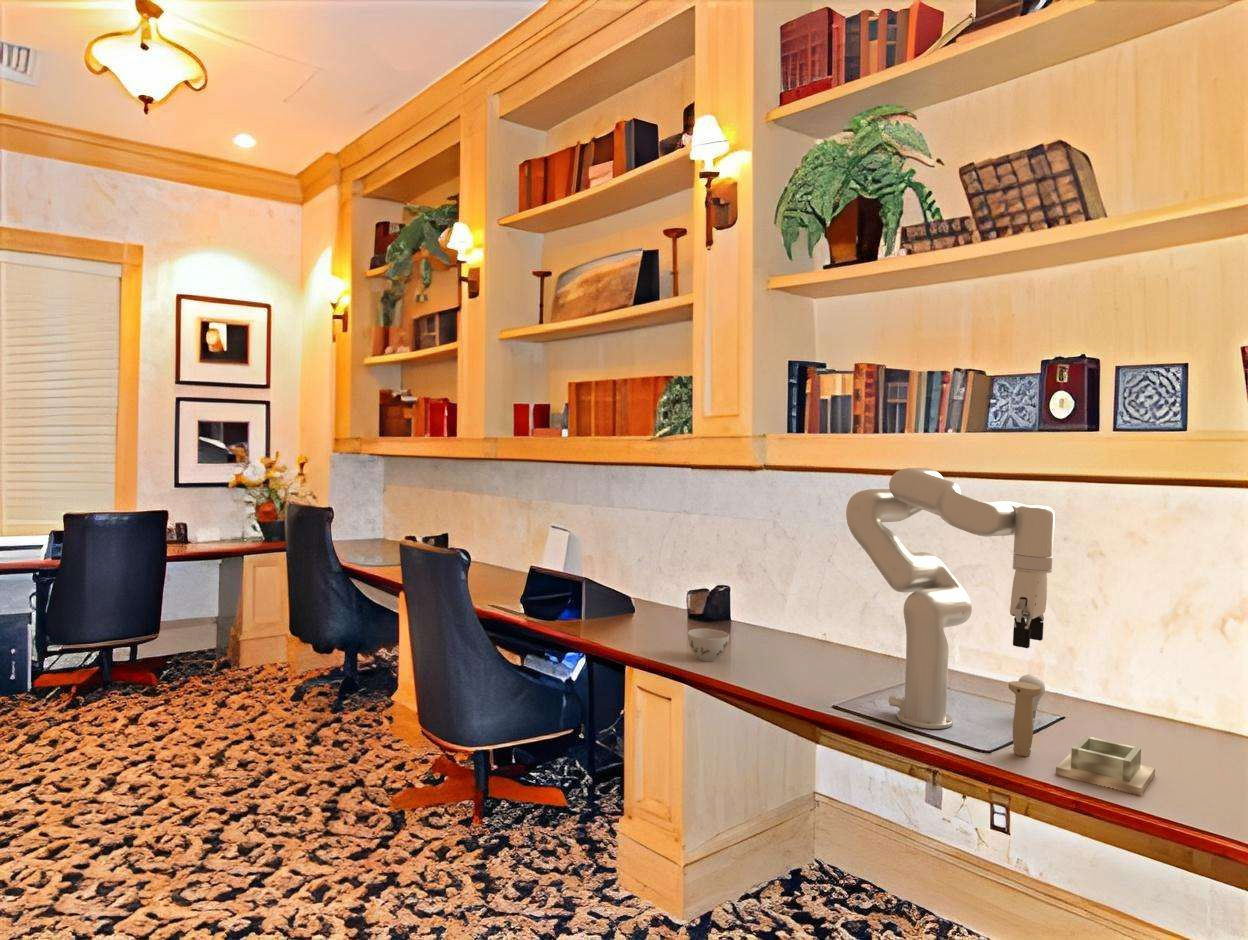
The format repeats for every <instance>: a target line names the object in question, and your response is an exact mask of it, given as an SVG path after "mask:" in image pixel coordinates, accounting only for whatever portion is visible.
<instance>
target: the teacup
mask: <svg viewBox="0 0 1248 940" xmlns="http://www.w3.org/2000/svg"><path fill="white" fill-rule="evenodd" d="M687 638H688V644H689V646H690V647H689V648H690V650H691V651H692V653H693V654H694V656H695V657H696V658H697V659H698V660H700V661H703V662H715V661H717V660H718V659H719V658H720V657H721V656H723V654H725V651H726V649H727V647H728V645H729V642H730V634H729V633H727V632H726V631H724V630H717V629H712V628H694V629H690V630H688V632H687Z"/></svg>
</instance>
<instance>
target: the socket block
mask: <svg viewBox="0 0 1248 940" xmlns="http://www.w3.org/2000/svg"><path fill="white" fill-rule="evenodd" d="M1141 761H1142V747H1138V746H1134V745H1129V744H1124V743H1120V742H1115V741H1111V740H1106V739H1103V738H1097V737H1093V736H1088V735H1084V736H1082V737H1081V738H1080V739H1079V741H1077V742H1076V743H1075V744H1074V745H1073V746H1071V752H1070V753H1068V755H1067V756H1065V757H1064V758H1063V760H1062V761H1060V763H1058V764H1057V765H1056V766H1055V775H1058V776H1061V777H1065V778H1069V779H1073V780H1076V781H1081V782H1085V783H1088V784H1092V785H1096V784H1097V785H1096V786H1100V785H1101V786H1100V787H1104V786H1105V787H1104V788H1108V787H1110V788H1109V789H1112V788H1114V789H1113V790H1116V789H1118V790H1117V791H1120V790H1123V791H1122V792H1124V791H1126V792H1125V793H1128V792H1130V793H1129V794H1132V793H1133V795H1136V794H1137V795H1136V796H1140V795H1141V796H1142V795H1143V793H1144V792H1145V791H1146V789H1147V787H1148V786H1149V785H1150V783H1151V782H1152V780H1153V779H1154V777H1155V775H1156V768H1155V767H1152V766H1147V765H1143V764H1141Z"/></svg>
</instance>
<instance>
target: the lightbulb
mask: <svg viewBox="0 0 1248 940" xmlns="http://www.w3.org/2000/svg"><path fill="white" fill-rule="evenodd" d="M1018 681H1019V682H1026V683H1030V684H1034V685H1037V686H1039V687H1041V694H1039V695H1037V696H1035V697H1033V719H1036V716H1037V710H1038V707H1039V706H1038V705H1039V702H1040V700H1041V699H1042V697H1043V695H1044V694H1045V693H1046V686H1045V683H1044V681H1043V679H1042V678H1041V677H1039V676H1038V675H1035V674H1032V673H1031V674H1030V673H1027V674H1024V675H1022V676H1021V677H1019V679H1018Z"/></svg>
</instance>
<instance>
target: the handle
mask: <svg viewBox="0 0 1248 940" xmlns="http://www.w3.org/2000/svg"><path fill="white" fill-rule="evenodd" d="M1008 689H1009V690H1010V691H1011V692H1012V693H1013V694H1015V696H1014V697H1015V704H1014V713H1013V722H1012V743H1013V744H1012V745H1013V749H1012V750H1013V753H1014V754H1016V756H1019V757H1025V758H1027V757H1029V756H1031V753H1032V750H1031V748H1032V744H1033V739H1034V738H1033V737H1034V736H1033V735H1034V718H1033V697H1035V696H1037V695H1039V694H1041V687H1039V686H1037V685H1034V684H1030V683H1026V682H1019V680H1017V681H1016V680H1012V681H1009V682H1008Z"/></svg>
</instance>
